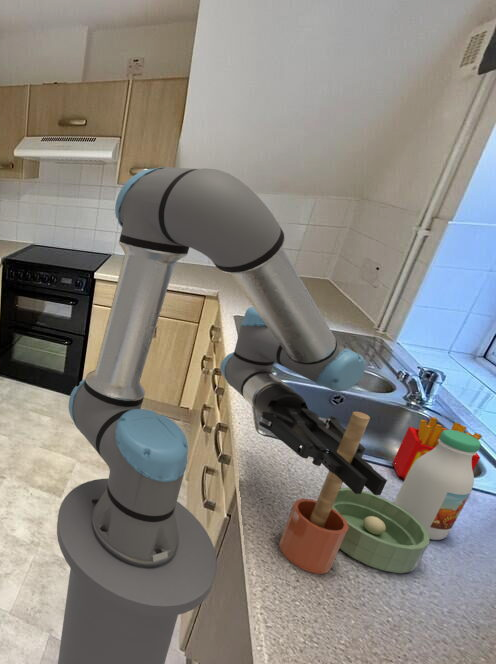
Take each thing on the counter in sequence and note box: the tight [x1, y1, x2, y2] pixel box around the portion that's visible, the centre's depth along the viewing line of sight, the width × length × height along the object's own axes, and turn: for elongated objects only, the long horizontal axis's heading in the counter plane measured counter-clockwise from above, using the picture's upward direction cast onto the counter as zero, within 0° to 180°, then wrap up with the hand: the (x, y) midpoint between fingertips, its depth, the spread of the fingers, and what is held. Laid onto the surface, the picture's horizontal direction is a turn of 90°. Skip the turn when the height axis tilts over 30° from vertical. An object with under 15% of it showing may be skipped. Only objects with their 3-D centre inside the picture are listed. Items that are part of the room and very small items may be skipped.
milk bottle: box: [393, 429, 482, 541], centre depth 75 cm, size 8×8×20 cm
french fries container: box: [391, 416, 483, 481], centre depth 87 cm, size 7×9×14 cm
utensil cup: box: [279, 498, 349, 575], centre depth 70 cm, size 7×7×9 cm
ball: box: [363, 516, 386, 535], centre depth 75 cm, size 3×3×3 cm
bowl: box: [332, 486, 431, 574], centre depth 73 cm, size 13×13×6 cm
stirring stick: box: [309, 411, 371, 528], centre depth 66 cm, size 2×2×24 cm
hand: (370, 486), depth 59 cm, fingers closed on stirring stick, 2 cm apart
